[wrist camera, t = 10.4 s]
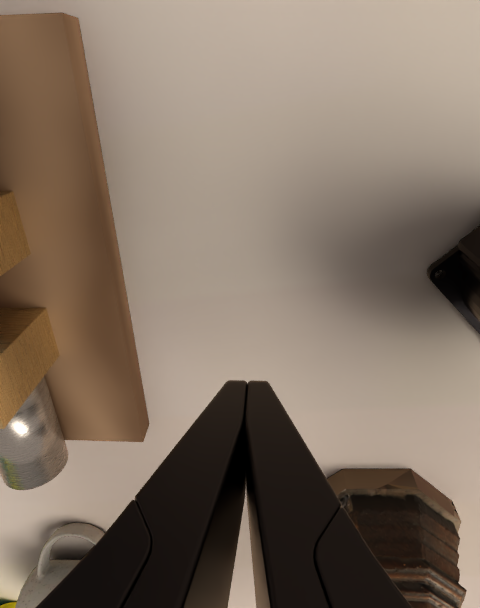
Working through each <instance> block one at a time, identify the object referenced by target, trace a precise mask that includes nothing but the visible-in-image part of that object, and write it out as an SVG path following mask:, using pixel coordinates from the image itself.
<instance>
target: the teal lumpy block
mask: <svg viewBox="0 0 480 608" xmlns="http://www.w3.org/2000/svg"><path fill="white" fill-rule="evenodd" d="M16 603H17V602H11V603H6V604H3V605H1V606H0V608H15V606H16Z"/></svg>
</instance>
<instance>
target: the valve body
mask: <svg viewBox="0 0 480 608" xmlns="http://www.w3.org/2000/svg"><path fill="white" fill-rule="evenodd" d="M30 254H31V252H30V249H29V245H28V242H27V238H26V235H25V231H24V228H23V224H22V221H21V217H20V214H19V210H18V207H17V203H16V199H15V196H14V192H13V191H1V192H0V276H1V275H3V274H4V273H5V272H7V271H8V270H10V269H11V268H12V267H14V266H15V265H16V264H18V263H19V262H20V261H22V260H23V259H24V258H26V257H27V256H29V255H30ZM59 356H60V355H59V351H58V348H57V344H56V341H55V337H54V334H53V330H52V327H51V323H50V319H49V316H48V312H47V309H46V308H0V474H1V476H2V479H3V481H4V483H5V484H6V485H7V486H8V487H10V488H12V489H16V490H28V489H33V488H36V487H39V486H41V485H43V484H45V483H47V482H49V481H50V480H52V479H53V478H54V477H56V476H57V475H58V474H59V473H60V472H61V471H62V469H63V468H64V466H65V465H66V463H67V460H68V450H67V447H66V444H65V441H64V437H63V434H62V431H61V428H60V425H59V422H58V418H57V415H56V412H55V409H54V406H53V402H52V399H51V396H50V393H49V390H48V387H47V383H46V380H45V377H44V375H45V374H46V373H47V371H48V370H49V369H50V368H51V366H52V365H53V364H54V362H55V361H56V360H57V358H58V357H59Z"/></svg>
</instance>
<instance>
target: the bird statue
mask: <svg viewBox="0 0 480 608" xmlns="http://www.w3.org/2000/svg"><path fill="white" fill-rule="evenodd" d="M327 480H328V482H329V484H330V485H331V487H332V489H333V490H334V492H335V494H336V495H337V497H338V499H339V500H340V502H341V504H342V507H343V508H344V509H345V510H346V512H347V513H348V515H349V517H350V518H351V520H352V522H353V523H354V525H355V527H356V528H357V530H358V531H359V533H360V534H361V536H362V538H363V539H364V541H365V542H366V544H367V545H368V547H369V548H370V550H371V552H372V553H373V555H374V556H375V558H376V559H377V560H378V562H379V563H380V564H381V566H382V567H383V569H384V570H385V571H386V573H387V574H388V575H389V577H390V578H391V580H392V581H393V582H394V584H395V585H396V586H397V588H398V589H399V590H400V592H401V593H402V594H403V596H404V597H405V598H406V600H407V601H408V602H409V604H410V605H411V606H412V608H461V605H462V602H463V601H464V597H465V595H466V589H464V588H463V587H462V586H461V585H460V584H459V583H458V582H459V576H460V574H459V569H458V567H457V563H458V559H459V554H458V552H457V550H458V545H459V541H460V538H459V536H458V530H459V527H460V523H461V520H460V518H459V516H458V514H457V511H456V509H455V506H454V504H453V502H452V501H451V500H450V499H449V498H447V497H446V496H445V495H444V494H442V493H441V492H440V491H438V490H437V489H436V488H435V487H433V486H432V485H431V484H429V483H428V482H427V481H426V480H424V479H423V478H422V477H420V476H419V475H418V474H417V473H415V472H414V471H413V470H411V469H342V470H340V471H339V472H337V473H336V474H334V475H332V476H331V477H329V478H328V479H327Z"/></svg>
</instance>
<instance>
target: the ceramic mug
mask: <svg viewBox="0 0 480 608" xmlns="http://www.w3.org/2000/svg"><path fill="white" fill-rule="evenodd" d="M104 534H105V533H104V532H103V531H102V530H100V529H98V528H96V527H94V526H93V525H90V524H86V523H70V524H67V525H64V526H62V527H60V528H59V529H57V530H56V531H55V532H54V534H53V535H52V536H51V537H50V539H49V540H48V541H47V542H46V544H45V545H44V547H43V549H42V551H41V554H40V557H39V561H38V566H37V567H36V568H35V569H34V570H33V571H32V572H31V574H30V575H29V577H28V579H27V580H26V582H25V584H24V586H23V588H22V589H21V592H20V595H19V598H18V600H17V603H16V606H15V608H35V607H36V606H37V605H38V604H39V603H40V602H41V601H42V600H43V599H44V598H45V597H46V596H47V595H48V594H49V593H50V592H51V591H52V590H53V589H54V588H55V587H56V586H57V585H58V584H59V583H60V582H61V581H62V580H63V579H64V578H65V577H66V576H67V574H68V573H69V572H70V571H71V570H72V569H73V568H74V567H75V566H76V565H77V564H78V563H79V562H80V561H81V560H50V551H51V547H52V545H53V544H54V543H55V542H56V541H57V540H58V539H60V538H61V537H65V536H75V537H80V538H84V539H86V540H88V541H89V542H91V543H93V544H94V545H96V543H97V542H98V541H99V540H100V539H101V538H102V536H103V535H104Z"/></svg>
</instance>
